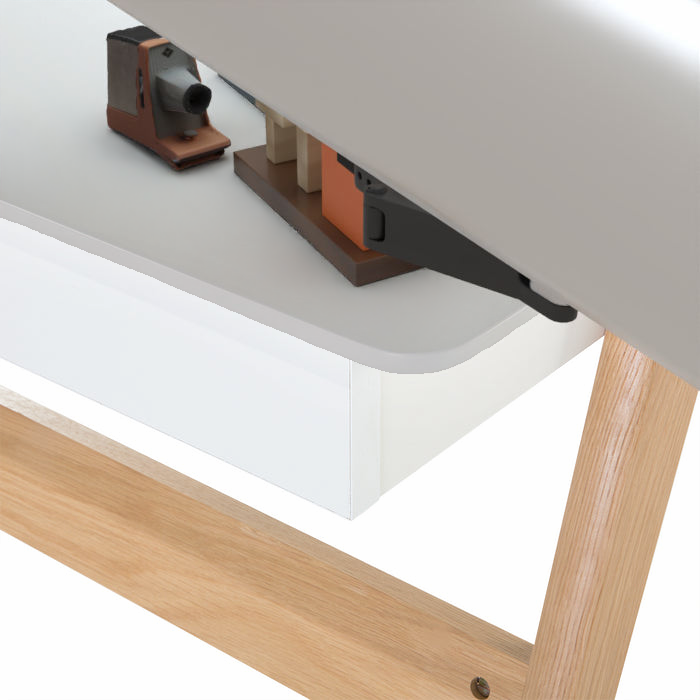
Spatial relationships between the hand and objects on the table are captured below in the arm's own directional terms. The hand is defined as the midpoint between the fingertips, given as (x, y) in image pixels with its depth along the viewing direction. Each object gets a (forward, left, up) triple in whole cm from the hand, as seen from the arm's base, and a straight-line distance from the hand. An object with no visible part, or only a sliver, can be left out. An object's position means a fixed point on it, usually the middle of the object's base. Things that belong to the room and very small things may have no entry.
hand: (467, 103), depth 59 cm
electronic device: (-28, +5, -12) cm, 31 cm away
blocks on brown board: (-13, +5, -12) cm, 19 cm away
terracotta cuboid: (-8, +3, -11) cm, 14 cm away
